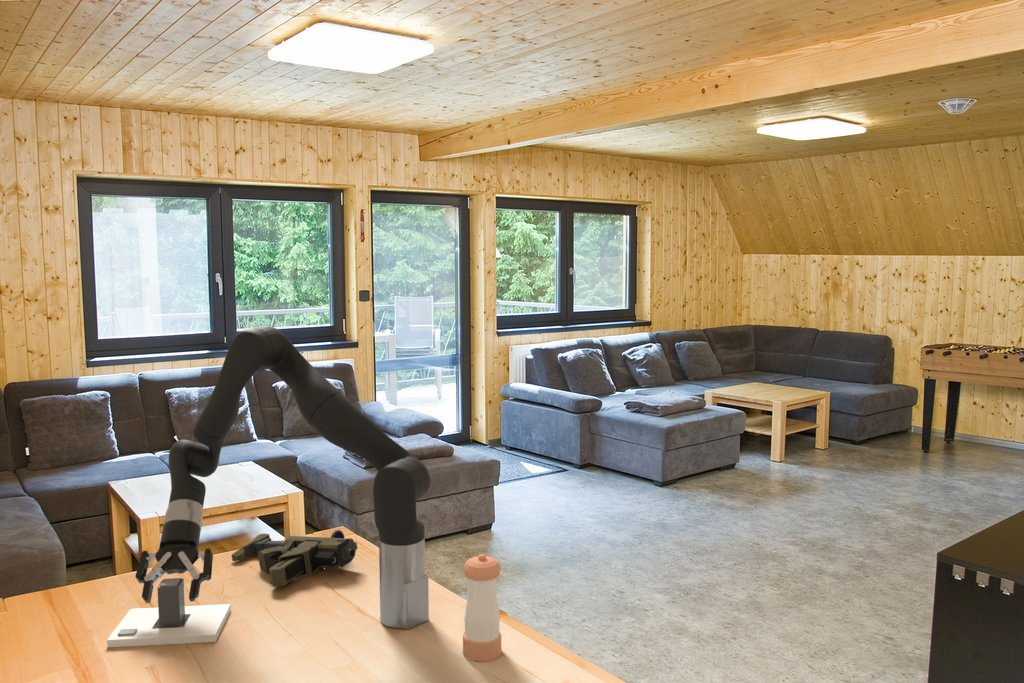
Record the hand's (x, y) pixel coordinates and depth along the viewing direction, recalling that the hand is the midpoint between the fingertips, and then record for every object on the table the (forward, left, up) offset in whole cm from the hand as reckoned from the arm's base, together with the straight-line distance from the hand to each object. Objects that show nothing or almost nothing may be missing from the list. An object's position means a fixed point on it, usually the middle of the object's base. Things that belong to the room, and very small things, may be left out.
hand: (169, 600), depth 167 cm
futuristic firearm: (+9, -35, -6) cm, 36 cm away
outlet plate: (0, 0, -6) cm, 6 cm away
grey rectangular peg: (0, -1, -6) cm, 6 cm away
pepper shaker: (-54, -33, -6) cm, 63 cm away
